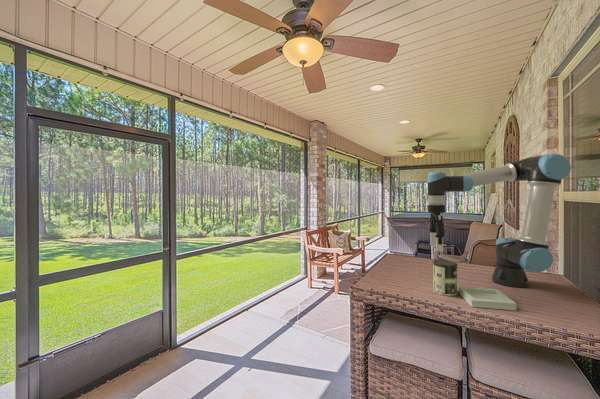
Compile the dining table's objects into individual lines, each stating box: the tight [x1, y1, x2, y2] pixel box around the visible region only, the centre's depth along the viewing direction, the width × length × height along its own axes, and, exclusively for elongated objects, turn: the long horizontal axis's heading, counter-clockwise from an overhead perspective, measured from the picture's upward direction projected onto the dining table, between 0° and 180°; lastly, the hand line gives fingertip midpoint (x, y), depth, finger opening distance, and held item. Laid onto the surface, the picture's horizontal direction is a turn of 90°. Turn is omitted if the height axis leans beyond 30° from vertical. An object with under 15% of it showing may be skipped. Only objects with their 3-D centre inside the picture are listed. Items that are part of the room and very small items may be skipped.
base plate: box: [458, 286, 517, 311], centre depth 119 cm, size 16×16×3 cm
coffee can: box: [432, 259, 458, 297], centre depth 130 cm, size 10×10×14 cm
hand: (436, 248), depth 132 cm, fingers open, 13 cm apart
